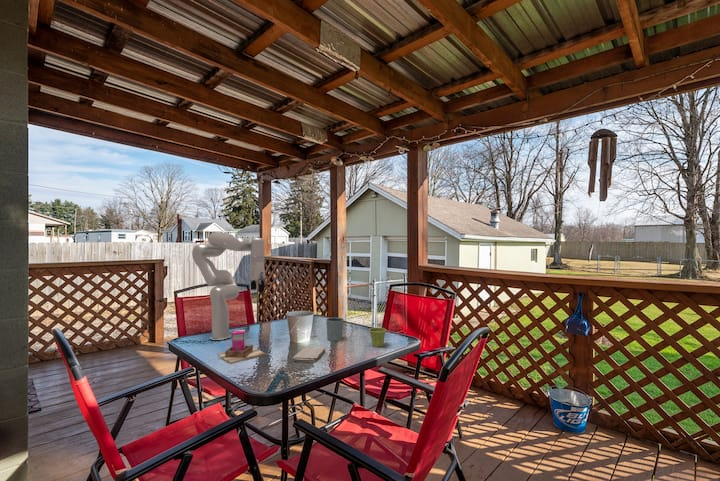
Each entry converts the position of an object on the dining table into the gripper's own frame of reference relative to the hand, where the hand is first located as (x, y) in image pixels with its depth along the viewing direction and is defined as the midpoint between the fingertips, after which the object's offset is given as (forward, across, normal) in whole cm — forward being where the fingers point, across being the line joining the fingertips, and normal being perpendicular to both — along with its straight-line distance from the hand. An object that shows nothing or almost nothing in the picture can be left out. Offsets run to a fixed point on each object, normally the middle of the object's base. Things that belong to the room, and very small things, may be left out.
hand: (257, 290), depth 190 cm
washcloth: (+31, +38, +9) cm, 49 cm away
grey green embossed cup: (+31, +23, +37) cm, 53 cm away
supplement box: (+30, +12, -16) cm, 36 cm away
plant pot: (+31, +49, +46) cm, 74 cm away
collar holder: (+30, +12, -16) cm, 36 cm away
